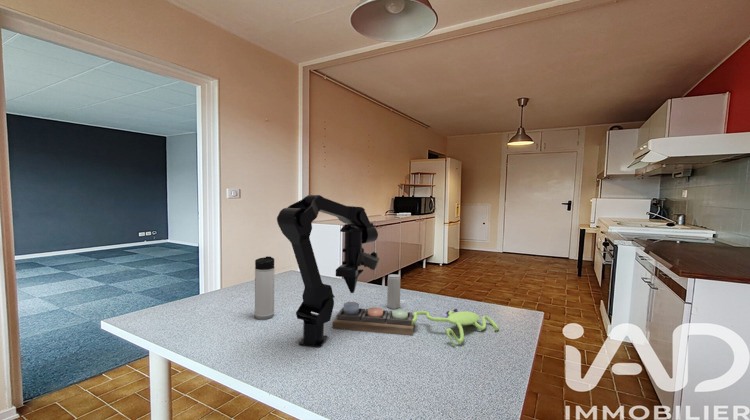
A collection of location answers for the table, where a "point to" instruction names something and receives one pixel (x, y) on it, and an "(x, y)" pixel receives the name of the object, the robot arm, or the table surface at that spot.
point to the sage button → (400, 314)
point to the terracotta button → (375, 312)
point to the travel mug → (264, 288)
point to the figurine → (458, 321)
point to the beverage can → (393, 291)
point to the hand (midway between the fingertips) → (352, 292)
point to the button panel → (373, 323)
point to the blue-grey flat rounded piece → (351, 308)
